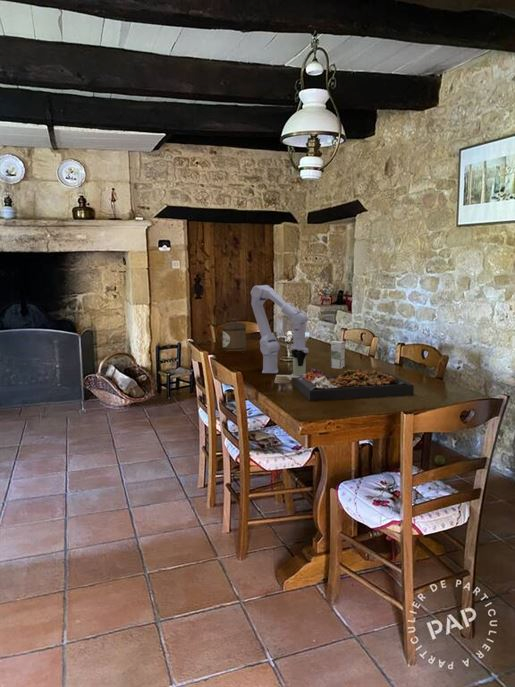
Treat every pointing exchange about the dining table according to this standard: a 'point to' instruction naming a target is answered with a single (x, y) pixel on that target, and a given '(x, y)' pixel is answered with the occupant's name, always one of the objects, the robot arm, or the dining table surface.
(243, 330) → the brown lidded canister
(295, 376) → the mat
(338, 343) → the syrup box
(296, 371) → the grey green block
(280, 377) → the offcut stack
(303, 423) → the dining table surface
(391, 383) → the food platter
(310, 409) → the dining table surface
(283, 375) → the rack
